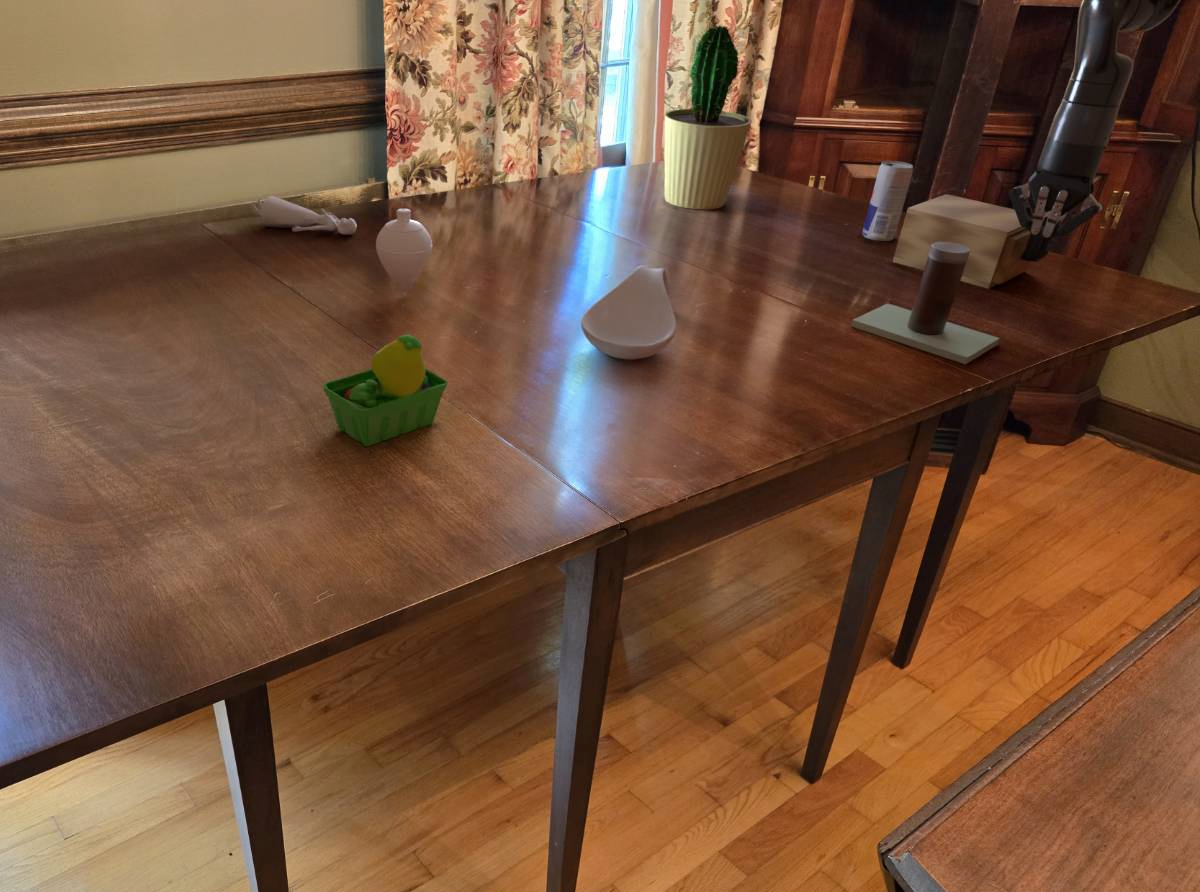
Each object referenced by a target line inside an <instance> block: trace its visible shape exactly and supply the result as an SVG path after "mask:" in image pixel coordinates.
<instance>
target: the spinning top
mask: <svg viewBox="0 0 1200 892" xmlns="http://www.w3.org/2000/svg"><path fill="white" fill-rule="evenodd" d="M411 216H412V210H410V209H409V208H398V209H397V210H396V219H392V220H390V221H388V222H386V223H385V224H384V226H383V227H382V228H381V229H380V231H379V233H378V234H377V236H376V239H375V251H376V254H377V257H378V258H379V261H380V263H381V265H382V266H383V269H384V270H385V271H386V272H387V275H389V277H390V278H391V279H392V281H393V282H394V284H395V285H397V287H398V288H399V289H400V290H401V291H402V293H403V294H402V297H403V298H406V297H407V291H408V290H409V289H410V288H411V287H412V286H413V284H414V283H415V282H416V281H417V280H418V278H419V276H420V275H421V274H422V273H423V271H424V269H425V268H426V266H427V264H428V262H429V260H430V258H431V255H432V252H433V241H432V237H431V235H430V234H429V231H428V230H427V229H426V228H425V227H424V225H423V223H421V222H419V221H417V220H414V219H411Z"/></svg>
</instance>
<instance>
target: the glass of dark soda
mask: <svg viewBox="0 0 1200 892" xmlns="http://www.w3.org/2000/svg"><path fill="white" fill-rule="evenodd" d="M969 253H970V249H969V248H968V247H966V246H964V245H961V244H957V243H951V242H935V243H933V244H932V246H931V249H930V252H929V256H928V259H927V262H926V265H925V269H924V271H923V272H922V275H921V279H920V282H919V285H918V289H917V291H916V295H915V298H914V301H913V305H912V308H911V315H910V318H909V321H908V324H907V326H908V328H909V329H910V330H912V331H914V332H917V333H920V334H925V335H939V334H942V333H943V332H944V329H945V326H946V323H947V322H948V319H949V316H950V313H951V310H952V307H953V304H954V302H955V298H956V295H957V292H958V289H959V286H960V284H961V281H960V280H961V277H962V274H963V271H964V268H965V265H966V261H967V259H968V256H969Z"/></svg>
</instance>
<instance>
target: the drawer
mask: <svg viewBox="0 0 1200 892" xmlns="http://www.w3.org/2000/svg"><path fill="white" fill-rule="evenodd" d="M1029 237H1030V231H1029V230H1028V229H1027V228H1026V229H1024V230H1022V231H1020V232H1017V233H1015V234H1013V235H1011V236H1009V237H1008V239H1007V242H1006V244H1005V247H1004V250H1003V253H1002V256H1001V259H1000V262H999V264H998V267H997V270H996V273H995V276H994V279H993V283H996V284H997V285H1001V284H1004V283H1006V282H1008V281H1010V280H1011V279H1014V278H1015V277H1017V276H1019V275H1021V274H1024V273H1025V272H1027V271H1029V270H1030V269H1031V270H1032V268H1033V267H1034V264H1035V262H1034V261H1030V260H1026V257H1027V255H1025V253H1024V251H1025V248H1026V245H1027V242H1028V240H1029Z"/></svg>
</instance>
